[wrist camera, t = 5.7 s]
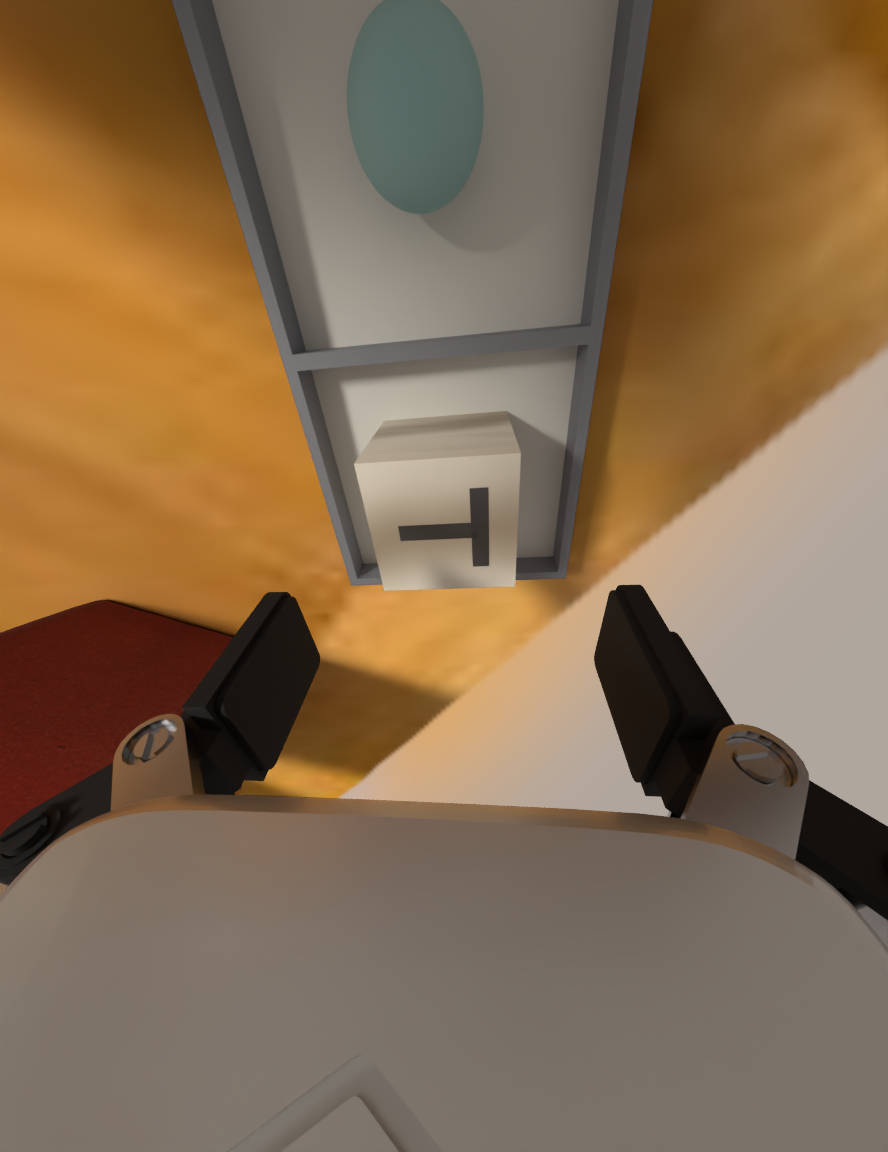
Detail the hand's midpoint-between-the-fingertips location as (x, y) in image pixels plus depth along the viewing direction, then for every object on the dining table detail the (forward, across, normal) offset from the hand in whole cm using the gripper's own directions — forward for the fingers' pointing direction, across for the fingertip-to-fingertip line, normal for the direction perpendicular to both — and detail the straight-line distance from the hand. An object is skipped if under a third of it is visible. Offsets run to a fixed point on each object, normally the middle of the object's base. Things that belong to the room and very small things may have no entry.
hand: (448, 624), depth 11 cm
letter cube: (+11, +1, -1) cm, 11 cm away
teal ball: (+11, +1, -12) cm, 16 cm away
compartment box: (+11, +1, -6) cm, 13 cm away
